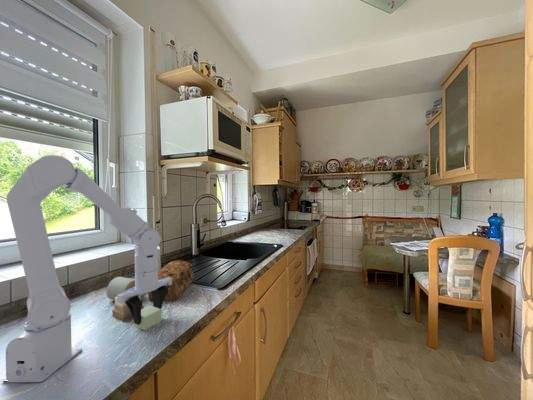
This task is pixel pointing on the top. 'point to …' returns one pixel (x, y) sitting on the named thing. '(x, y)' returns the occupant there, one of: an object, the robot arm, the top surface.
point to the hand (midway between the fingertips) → (147, 318)
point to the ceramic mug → (119, 286)
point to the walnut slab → (122, 315)
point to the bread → (175, 278)
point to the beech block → (121, 306)
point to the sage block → (149, 317)
